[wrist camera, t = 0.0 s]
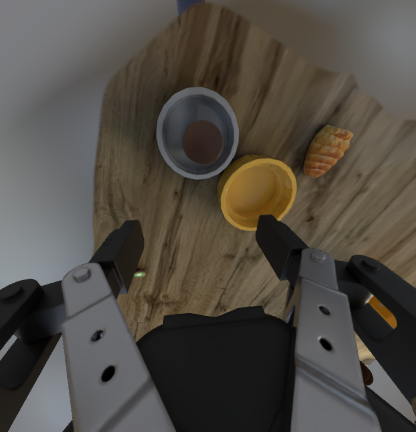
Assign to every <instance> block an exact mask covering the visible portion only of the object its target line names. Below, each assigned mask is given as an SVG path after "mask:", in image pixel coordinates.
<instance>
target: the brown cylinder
mask: <svg viewBox="0 0 416 432" xmlns="http://www.w3.org/2000/svg"><path fill="white" fill-rule="evenodd" d="M222 148H223V137H222V134H221V131H220V130H219V128H218V127H217V126H216V125H215V124H213V123H212V122H210V121H206V120H199V121H196V122H194V123H192V124H191V125H190V126H189V127H188V128H187V129H186V131H185V133H184V136H183V149H184V152H185V154H186V156H187V157H188V158H189V159H190V160H191V161H192V162H194V163H196V164H200V165H206V164H210V163H212V162H214V161H215V160H216V159H217V158H218V157H219V155H220V154H221V151H222Z"/></svg>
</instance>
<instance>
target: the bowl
mask: <svg viewBox="0 0 416 432" xmlns="http://www.w3.org/2000/svg"><path fill="white" fill-rule="evenodd" d="M296 190H297V187H296V178H295V176H294V174H293V173H292V171H291V169H290V168H289V167H288V166H287V165H285V164H284V163H283V162H282V161H279V160H276V159H274V158H271V157H268V156H264V155H261V154H252V155H246V156H243V157H241V158H239V159H236V160H235V161H234V162H232V163H231V164H230V165H229V166H228V167H227V168H226V169H225V171H224V172H223V174H222V175H221V177H220V179H219V182H218V186H217V199H218V202H219V204H220V207H221V209H222V212H223V214H224V217H225V218H226V219H227V220H228V222H229V223H230V224H231V225H233V226H235V227H237V228H239V229H242V230H248V231H254V230H256V229H257V224H258V219H259V216H260V215H269V214H272V215H273V216H274V217H275V218H276V219H277V220H278V221H279V220H280V219H281V218H282V217H283V216H284V215H285V214H286V213H287V212H288V211H289V209H290V207H291V205H292V204H293V202H294V199H295V195H296Z"/></svg>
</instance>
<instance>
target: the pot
mask: <svg viewBox="0 0 416 432" xmlns="http://www.w3.org/2000/svg"><path fill="white" fill-rule="evenodd" d="M199 120H206V121H210V122H212V123H213V124H215V125H216V126H217V127H218V128H219V130H220V131H221V134H222V137H223V148H222V151H221V154H220V155H219V157H218V158H217V159H216V160H215V161H214V162H212V163H210V164H206V165H200V164H196V163H194V162H192V161H191V160H190V159H189V158H188V157H187V156H186V154H185V152H184V149H183V136H184V133H185V131H186V129H187V128H188V127H189V126H190V125H191V124H192V123H194V122H196V121H199ZM156 137H157V142H158V147H159V150H160V152H161V154H162V156H163V158H164V160H165V161H166V163H167V164H168V165H169V166H170V167H171V168H172V169H173V170H174V171H175V172H177V173H179V174H181V175H182V176H184V177H187V178H192V179H207V178H210V177H212V176H215V175H217V174H219V173H220V172H221V171H222V170H224V169H225V168H226V167H227V166H228V165H229V163H230V162H231V160H232V159H233V157H234V155H235V152H236V149H237V146H238V138H239V128H238V124H237V120H236V116H235V113H234V112H233V110H232V108H231V107H230V105H229V103H228V102H227V101H226V100H225V99H224V98H223V97H221V96H220V95H219V94H218V93H217V92H215V91H212V90H209V89H206V88H203V87H191V88H185V89H183V90H181V91H179V92H177V93H175V94H174V95H173V96H172V97H171V98H170V99H169V100H168V101H167V102H166V103H165V104H164V106H163V108H162V110H161V113H160V115H159V117H158V120H157V130H156Z"/></svg>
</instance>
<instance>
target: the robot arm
mask: <svg viewBox="0 0 416 432" xmlns="http://www.w3.org/2000/svg"><path fill="white" fill-rule="evenodd" d="M256 241H257V243H258V245H259V247H260V248H261V250H262V252H263V253H264V255H265V257H266V258H267V260H268V262H269V263H270V265H271V267H272V268H273V270H274V272H275V273H276V275H277V277H278V278H279V280H280V281H282V280H288V281H289V282H290V283H289V286H288V291H287V296H286V302H285V307H284V313H283V317H282V319H280V318H277V317H275V316H272V315H269V314H265V312H264V310H263V308H262V306H252V307H243V308H237V309H235V310H232V311H230V312H228V313H225V314H223V315H220V316H218V317H210V316H204V315H198V314H192V313H185V314H175V315H166V316H164V319H163V325H160V326H158V327H156V328H154V329H152V330H151V331H149V332H148V333H147V334H145V335H144V336H143V337H142V338H140V339H139V340H138V341H137V342H136V343H135V341H134V338H133V336H132V334H131V332H130V330H129V327H128V325H127V323H126V321H125V319H124V316H123V314H122V312H121V310H120V308H119V305H118V303H117V301H116V300H117V297H118V295H119V294H127V293H128V290H129V287H130V284H131V282H132V279H133V276H134V274H135V271H136V268H137V266H138V263H139V260H140V257H141V255H142V252H143V249H144V238H143V233H142V229H141V225H140V222H139V220H130V221H125V222H124V223H123V225H122V226H121V228H120V229H116V230H114V231H113V232H112V233H110V234H109V235H108V237H107V238H106V239H105V241H104V242H103V243H102V246H100V248H99V249H98V250H97V252H96V253H95V254H94V256H93V257H92V258H91V260H90V261H89V262H88V263H86V264H82V265H80V266H78V267H76V268H74V269H72V270H71V271H69V272H68V273H67V274H66V275H65V276H64V278H63V279H62V280H61V281H57V282H54V283H50V284H47V285H44V286H40V285H39V283H38V282H37V281H36V280H34V279H26V280H21V281H18V282H15V283H13V284H10V285H8V286H6V287H5V288H3V289H1V290H0V350H1V349H2V348H3V347H4V345H5V344H6V343H7V341H8V340H9V339H10V338H11V336H12V335H13V334H14V335H15V336H16V337H17V339H16V341H15V342H14V343H13V345H12V346H11V347H10V349H9V350H8V351H7V353H6V354H5V355H4V357H3V358H2V359H1V360H0V432H8V430H9V429H10V427H11V425H12V423H13V421H14V420H15V418H16V416H17V414H18V413H19V411H20V409H21V407H22V405H23V403H24V402H25V400H26V398H27V396H28V395H29V393H30V391H31V389H32V387H33V385H34V384H35V382H36V380H37V378H38V377H39V375H40V373H41V371H42V369H43V368H44V366H45V364H46V362H47V360H48V359H49V357H50V355H51V353H52V352H53V350H54V348H55V346H56V344H57V342H58V341H59V339H60V337H61V335H62V337H63V345H64V353H65V362H66V369H67V378H68V386H69V394H70V403H71V411H72V419H73V420H72V421H71V422H70V423H69V424H68V426H67V427H66V428H65V429H64V431H63V432H416V421H415V422H414V424H413V423H412V422H411V421H410V420H408V419H407V418H406V417H405V416H403V415H402V414H401V413H400V412H398V411H397V410H396V409H395V408H393V407H392V406H391V405H389V404H388V403H387V402H386V401H385V400H383V399H382V398H381V397H380V396H378V395H377V394H376V393H375V392H374V391H372V390H371V389H370V388H368V387H367V386H366V385H365V384H364V383H363V377H362V372H361V366H360V361H359V356H358V350H357V345H356V339H355V334H354V331H355V332H356V334H357V335H358V336H359V337H360V339H361V340H362V341H363V343H364V344H365V345H366V347H367V348H368V349H369V351H370V352H371V353H372V355H373V356H374V357H375V358H376V360H377V361H378V362H379V364H380V365H381V366H382V368H383V369H384V370H385V371H386V373H387V374H388V375H389V377H390V378H391V379H392V381H393V382H394V383H395V385H396V386H397V387H398V389H399V390H400V391H401V393H402V394H403V395H404V396H405V398H406V399H407V400H408V402H409V403H410V404H411V406H412V408H413V412H414V414H415V416H416V288H414V287H413V286H412V285H410V284H409V283H408V282H406V281H405V280H403V279H402V278H401V277H399V276H398V275H397V274H395V273H394V272H393V271H391V270H390V269H389V268H387V267H386V266H385V265H383V264H382V263H380V262H379V261H377V260H375V259H372V258H370V257H367V256H363V255H354V256H352V257H351V259H350V260H349V262H343V261H337V260H333V258H332V257H331V256H330V255H329V254H327V253H326V252H324V251H322V250H319V249H316V248H309V247H308V246H307V245H306V244H305V243H304V242H303V241H302V240H301V239H300V238H299V237H298V236H297V235H295V233H294V232H293V231H291V229H290V228H289V227H288V226H287V225H286V224H284V223H282V222H280V221H278V220H277V219H276V218H275V217H274V216H273V215H272V214H269V215H260V216H259V219H258V224H257V229H256ZM373 296H375V297H376V298H377V299H378V300H379V301H380V302H381V303H382V304H383V305H384V306H385V307H386V308H387V309H388V310H389V311H390V312H391V313H392V314H393V315H394V317H395V319H396V321H397V326H396V328H395V329H393V328H392V327H391V326H390V325H389V324H388V323H387V322H386V321H385V320H384V319H383V317H382V316H381V315H380V314H379V313H378V312H377V311H376V310H375V309H374V308H373V307H372V306H371V305H370V304H369V303H368V302H369V300H370V299H371V298H372V297H373Z"/></svg>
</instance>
